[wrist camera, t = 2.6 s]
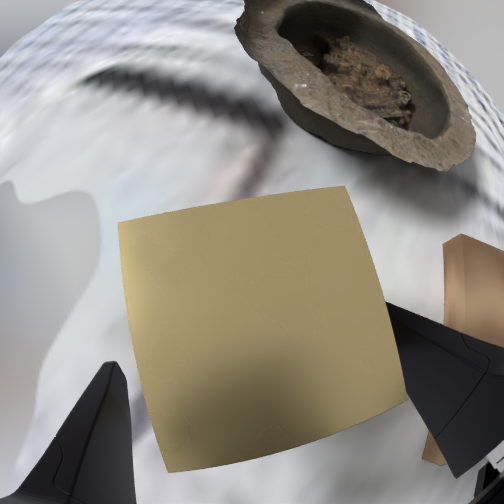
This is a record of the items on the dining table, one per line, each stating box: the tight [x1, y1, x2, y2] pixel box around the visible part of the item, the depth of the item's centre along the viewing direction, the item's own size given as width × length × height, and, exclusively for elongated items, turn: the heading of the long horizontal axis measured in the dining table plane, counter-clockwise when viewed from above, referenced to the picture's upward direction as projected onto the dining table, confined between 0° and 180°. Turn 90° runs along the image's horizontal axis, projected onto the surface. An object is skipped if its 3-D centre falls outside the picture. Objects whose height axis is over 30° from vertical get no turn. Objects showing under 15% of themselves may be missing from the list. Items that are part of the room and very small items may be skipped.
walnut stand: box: [422, 234, 504, 466], centre depth 17 cm, size 18×14×2 cm
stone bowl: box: [234, 0, 476, 172], centre depth 22 cm, size 25×25×9 cm
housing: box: [118, 186, 407, 473], centre depth 11 cm, size 6×6×12 cm
